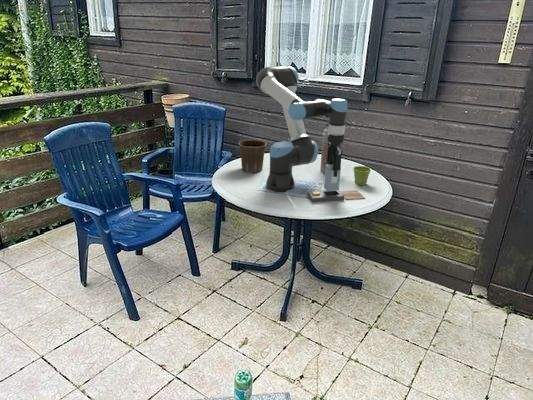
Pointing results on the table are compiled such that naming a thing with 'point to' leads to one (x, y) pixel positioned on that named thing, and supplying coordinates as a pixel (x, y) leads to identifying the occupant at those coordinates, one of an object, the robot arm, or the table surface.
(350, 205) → the table surface
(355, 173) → the plant pot
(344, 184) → the table surface
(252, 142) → the plant pot
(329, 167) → the light blue tall block
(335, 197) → the dark grey holder
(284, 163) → the robot arm
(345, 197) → the walnut board
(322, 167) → the thermos bottle
